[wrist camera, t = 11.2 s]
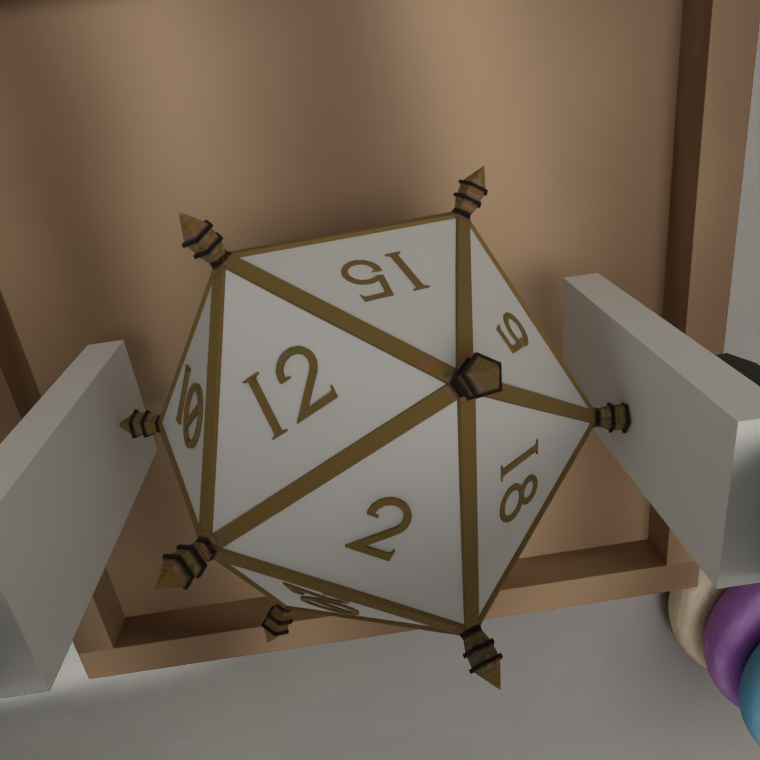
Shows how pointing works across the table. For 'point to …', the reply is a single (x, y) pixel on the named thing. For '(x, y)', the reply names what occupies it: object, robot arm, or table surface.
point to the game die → (369, 424)
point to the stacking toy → (723, 639)
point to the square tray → (358, 225)
